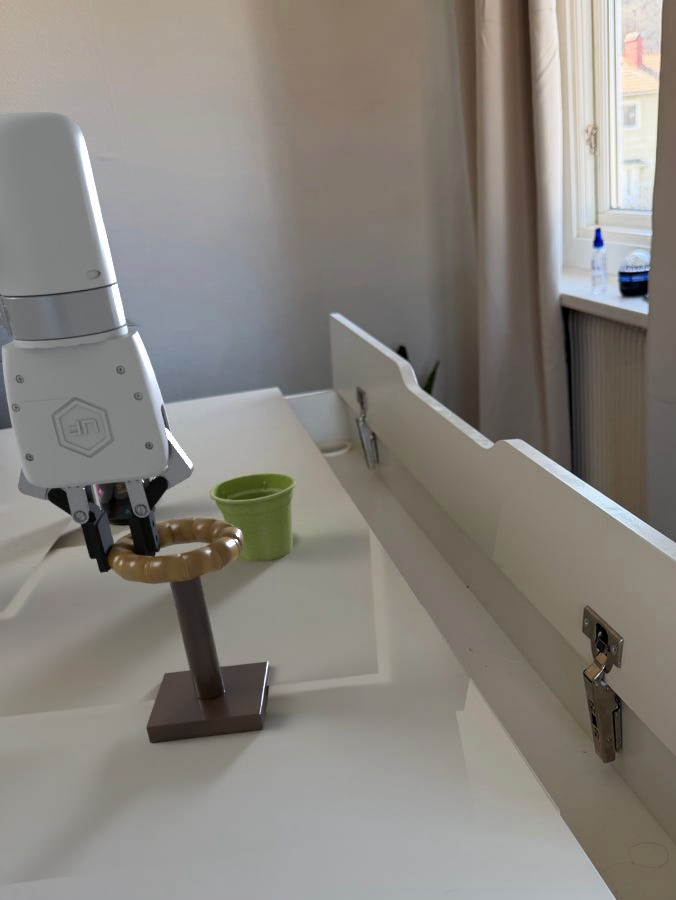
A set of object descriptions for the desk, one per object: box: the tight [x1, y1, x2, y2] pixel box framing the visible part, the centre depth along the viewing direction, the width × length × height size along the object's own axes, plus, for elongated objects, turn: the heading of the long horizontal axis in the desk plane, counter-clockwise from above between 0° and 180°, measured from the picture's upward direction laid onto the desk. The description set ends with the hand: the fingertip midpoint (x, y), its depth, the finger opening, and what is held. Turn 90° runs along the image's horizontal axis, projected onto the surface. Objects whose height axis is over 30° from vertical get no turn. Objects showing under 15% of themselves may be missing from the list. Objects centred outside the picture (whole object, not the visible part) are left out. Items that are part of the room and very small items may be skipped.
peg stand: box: [145, 576, 270, 743], centre depth 79 cm, size 9×9×12 cm
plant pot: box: [209, 472, 297, 563], centre depth 110 cm, size 9×9×9 cm
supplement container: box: [94, 481, 156, 525], centre depth 125 cm, size 7×7×10 cm
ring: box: [107, 516, 244, 585], centre depth 76 cm, size 10×10×2 cm
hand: (128, 561), depth 75 cm, fingers closed on ring, 2 cm apart
